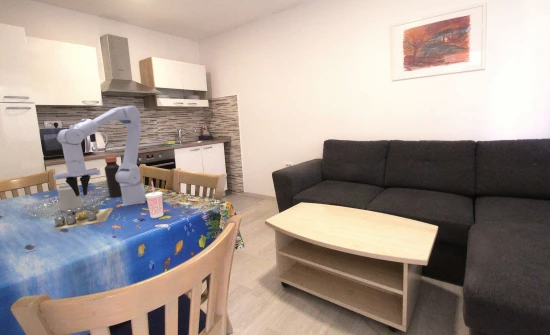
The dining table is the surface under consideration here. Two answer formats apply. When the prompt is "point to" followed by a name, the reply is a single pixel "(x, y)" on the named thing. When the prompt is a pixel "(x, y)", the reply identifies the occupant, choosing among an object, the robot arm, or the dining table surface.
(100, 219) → the board
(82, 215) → the gold dome
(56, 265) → the dining table surface
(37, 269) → the dining table surface
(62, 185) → the can
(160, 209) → the beverage cup
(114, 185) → the bottle
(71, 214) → the metal pegs
